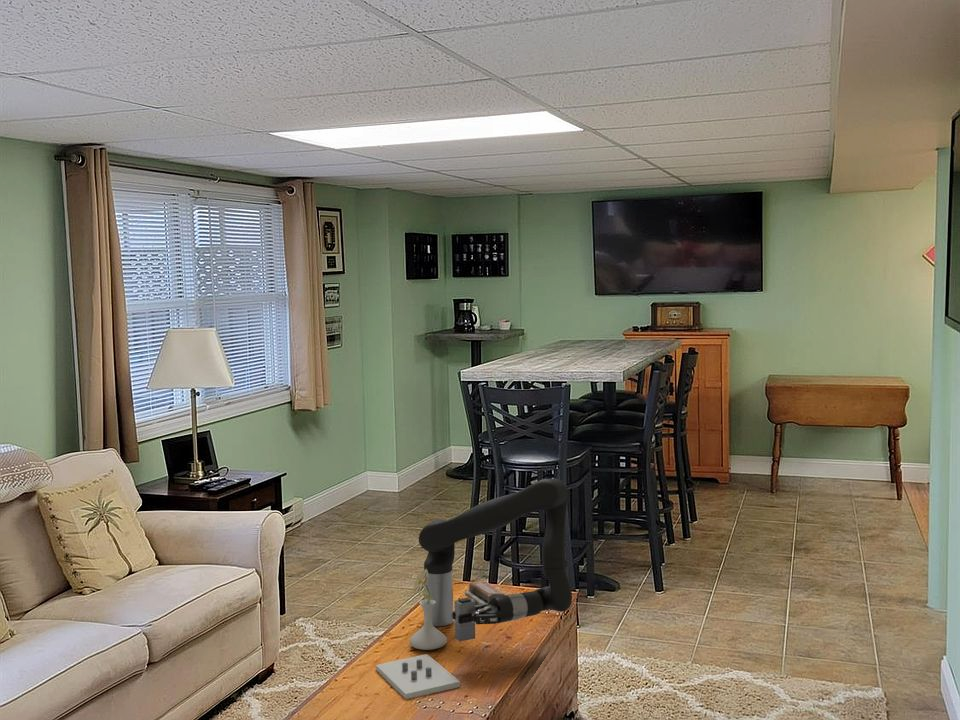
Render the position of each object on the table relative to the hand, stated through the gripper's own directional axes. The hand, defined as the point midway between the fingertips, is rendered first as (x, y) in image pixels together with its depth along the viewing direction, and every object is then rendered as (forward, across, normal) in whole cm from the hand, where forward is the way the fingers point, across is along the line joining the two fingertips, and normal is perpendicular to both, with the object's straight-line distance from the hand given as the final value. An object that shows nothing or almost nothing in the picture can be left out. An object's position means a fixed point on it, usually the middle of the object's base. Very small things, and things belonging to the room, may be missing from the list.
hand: (455, 617), depth 270 cm
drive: (-3, 0, +6) cm, 7 cm away
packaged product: (-35, -47, +16) cm, 61 cm away
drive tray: (+13, +1, +15) cm, 20 cm away
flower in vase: (+1, -18, +15) cm, 23 cm away
